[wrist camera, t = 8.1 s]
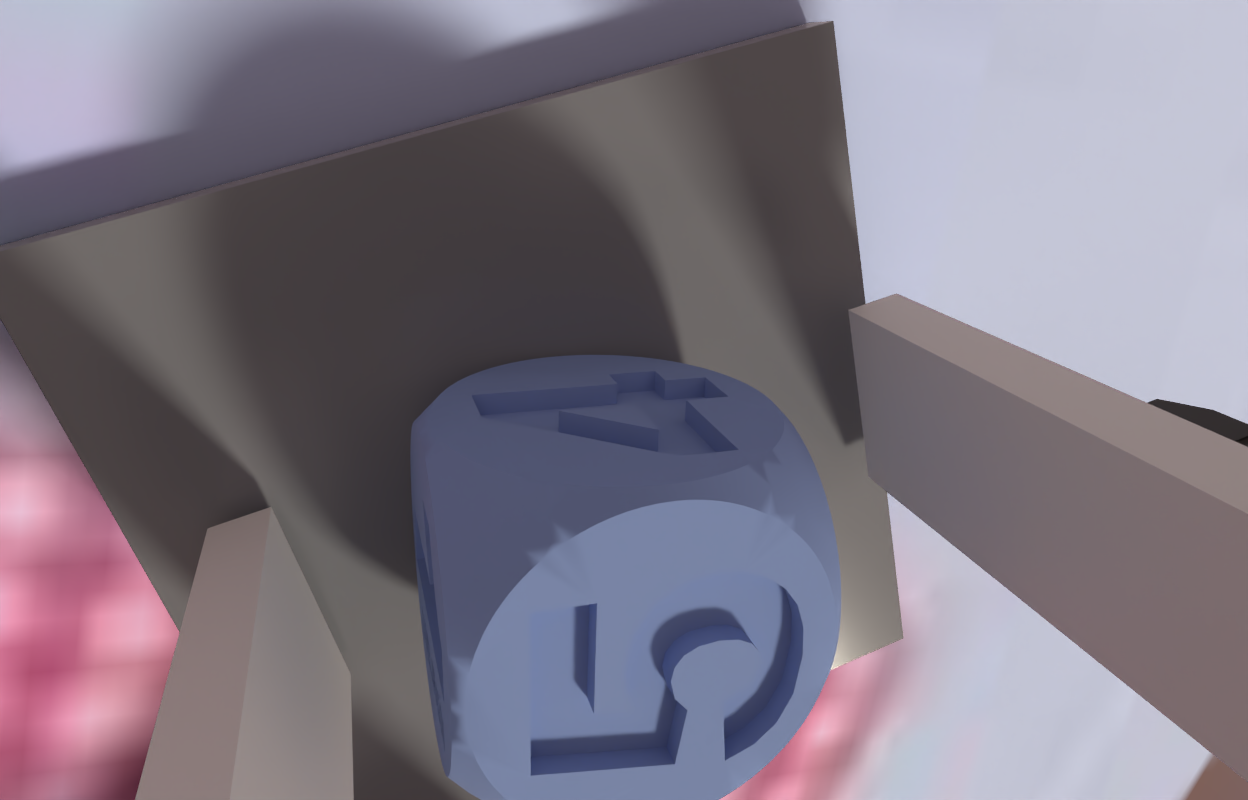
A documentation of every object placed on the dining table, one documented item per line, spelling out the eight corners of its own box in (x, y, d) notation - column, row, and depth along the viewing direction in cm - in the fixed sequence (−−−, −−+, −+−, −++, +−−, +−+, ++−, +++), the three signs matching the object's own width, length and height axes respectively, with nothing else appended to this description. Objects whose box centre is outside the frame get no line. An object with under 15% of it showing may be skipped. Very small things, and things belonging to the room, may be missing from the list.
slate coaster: (327, 858, 14) (328, 890, 13) (-13, 248, 9) (-33, 261, 9) (883, 617, 16) (903, 638, 15) (808, 23, 11) (832, 20, 11)
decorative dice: (403, 363, 11) (444, 517, 7) (705, 343, 12) (870, 466, 8) (418, 638, 12) (458, 880, 8) (688, 596, 13) (821, 792, 10)
